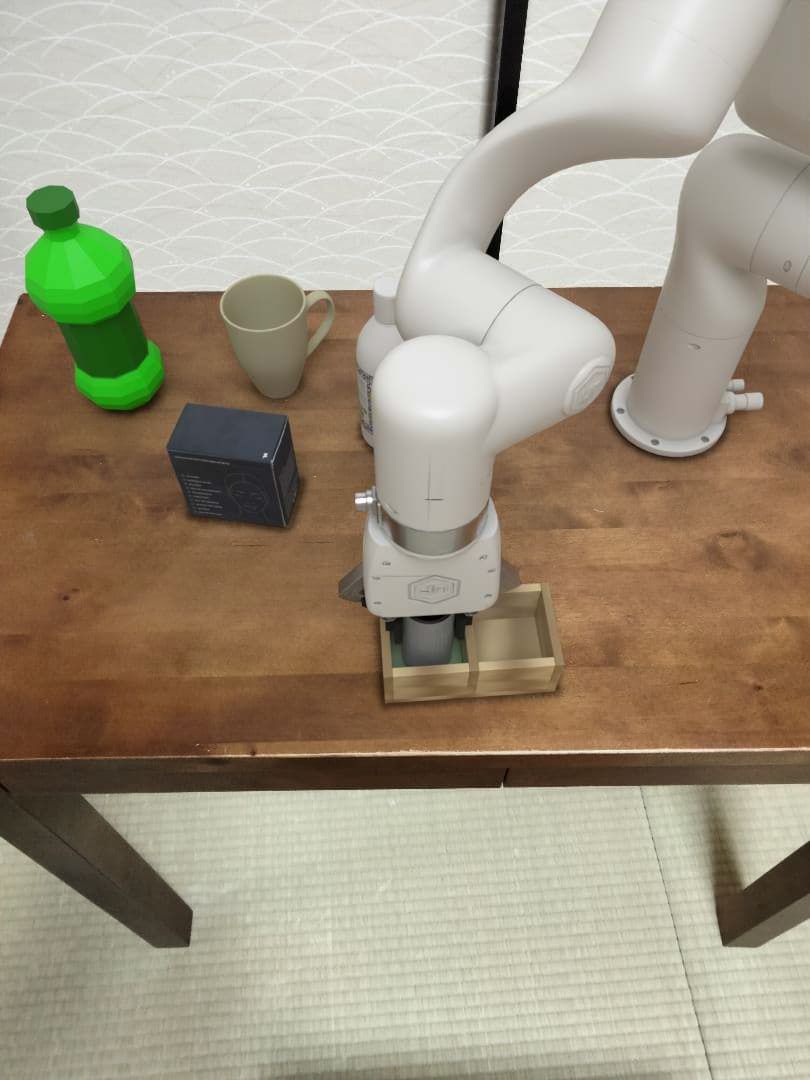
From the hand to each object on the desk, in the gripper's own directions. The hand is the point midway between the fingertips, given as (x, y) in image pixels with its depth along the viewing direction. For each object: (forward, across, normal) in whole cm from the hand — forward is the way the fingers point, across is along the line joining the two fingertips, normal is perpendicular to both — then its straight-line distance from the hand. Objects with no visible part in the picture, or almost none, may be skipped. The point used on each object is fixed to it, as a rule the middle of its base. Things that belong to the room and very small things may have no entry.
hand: (427, 625), depth 70 cm
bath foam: (+7, -1, +28) cm, 29 cm away
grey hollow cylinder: (+6, 0, 0) cm, 6 cm away
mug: (+7, -13, +37) cm, 40 cm away
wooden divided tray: (+7, +4, 0) cm, 8 cm away
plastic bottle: (+7, -31, +36) cm, 48 cm away
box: (+7, -17, +20) cm, 27 cm away
